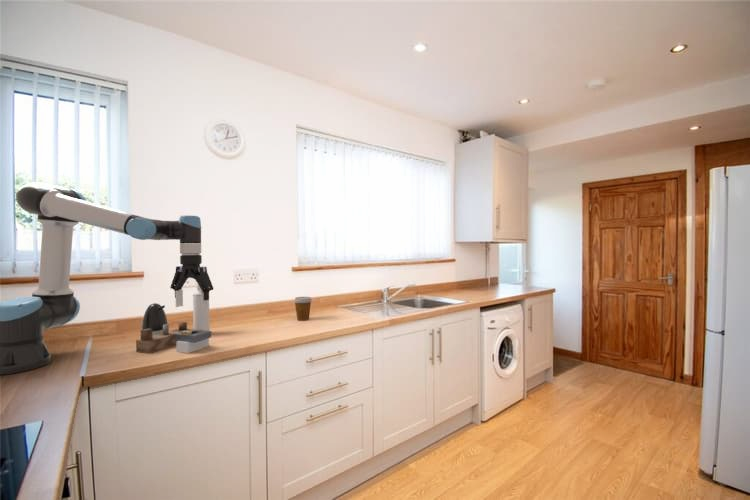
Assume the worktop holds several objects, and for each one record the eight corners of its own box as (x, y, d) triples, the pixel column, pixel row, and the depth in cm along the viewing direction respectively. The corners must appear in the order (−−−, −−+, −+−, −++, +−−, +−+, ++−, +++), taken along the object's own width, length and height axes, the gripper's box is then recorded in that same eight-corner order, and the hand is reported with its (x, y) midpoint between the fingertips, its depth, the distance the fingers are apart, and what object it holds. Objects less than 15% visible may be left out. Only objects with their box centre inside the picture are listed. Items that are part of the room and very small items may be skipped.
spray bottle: (191, 334, 158) (190, 280, 158) (206, 331, 163) (205, 279, 163) (196, 336, 154) (195, 281, 153) (212, 333, 159) (211, 280, 158)
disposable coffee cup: (315, 318, 188) (315, 297, 188) (303, 322, 180) (303, 299, 180) (303, 316, 193) (302, 296, 193) (290, 320, 185) (290, 298, 185)
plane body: (148, 353, 131) (148, 331, 131) (136, 351, 133) (135, 329, 133) (192, 339, 150) (192, 320, 149) (181, 337, 152) (180, 319, 152)
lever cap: (194, 342, 131) (194, 333, 130) (174, 340, 134) (173, 330, 134) (211, 337, 138) (211, 328, 138) (191, 335, 142) (191, 326, 142)
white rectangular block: (188, 353, 131) (187, 342, 130) (176, 351, 133) (176, 341, 133) (208, 345, 140) (208, 336, 140) (197, 344, 142) (197, 334, 142)
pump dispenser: (155, 340, 149) (155, 305, 148) (135, 339, 151) (135, 305, 151) (173, 334, 159) (173, 301, 158) (155, 333, 161) (154, 301, 161)
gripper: (222, 254, 135) (223, 307, 135) (176, 254, 143) (177, 303, 144) (207, 255, 128) (208, 311, 128) (159, 254, 136) (160, 307, 137)
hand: (191, 307), depth 136 cm, fingers open, 13 cm apart
